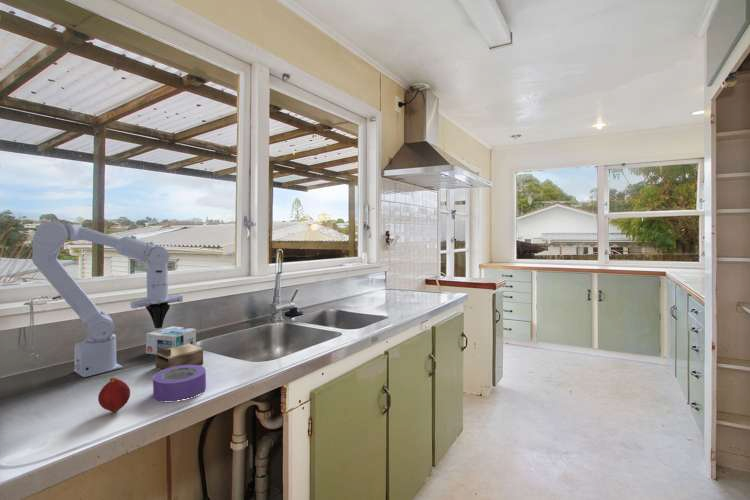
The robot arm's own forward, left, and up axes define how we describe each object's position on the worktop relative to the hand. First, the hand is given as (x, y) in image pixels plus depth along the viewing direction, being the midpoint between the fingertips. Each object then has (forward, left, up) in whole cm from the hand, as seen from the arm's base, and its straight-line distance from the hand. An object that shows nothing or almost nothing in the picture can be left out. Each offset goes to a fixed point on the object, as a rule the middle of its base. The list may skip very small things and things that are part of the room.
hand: (158, 327), depth 118 cm
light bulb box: (+12, +7, -7) cm, 15 cm away
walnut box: (+1, -11, -10) cm, 15 cm away
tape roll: (-8, -29, -10) cm, 32 cm away
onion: (-22, -28, -10) cm, 37 cm away
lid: (+1, -11, -6) cm, 12 cm away
